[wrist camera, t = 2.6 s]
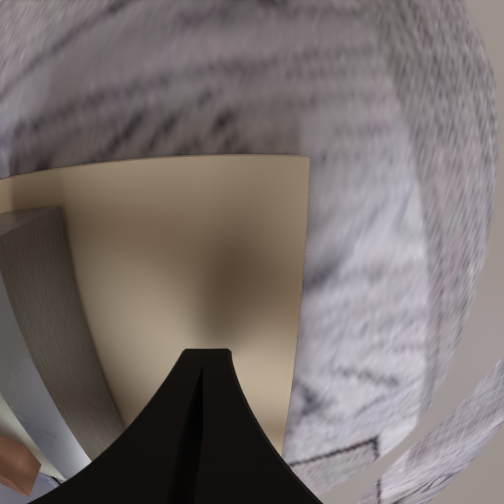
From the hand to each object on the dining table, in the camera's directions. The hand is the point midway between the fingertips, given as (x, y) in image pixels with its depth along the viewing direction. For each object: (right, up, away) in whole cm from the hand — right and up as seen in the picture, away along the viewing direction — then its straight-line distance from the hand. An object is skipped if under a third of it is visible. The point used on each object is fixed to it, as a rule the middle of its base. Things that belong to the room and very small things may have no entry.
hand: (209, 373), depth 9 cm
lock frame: (-9, -3, +3) cm, 10 cm away
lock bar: (-5, -2, +1) cm, 6 cm away
